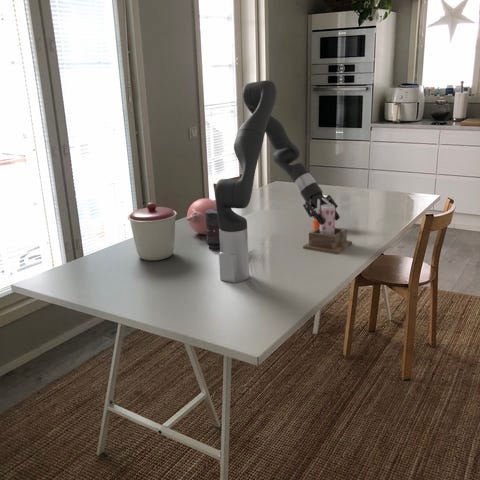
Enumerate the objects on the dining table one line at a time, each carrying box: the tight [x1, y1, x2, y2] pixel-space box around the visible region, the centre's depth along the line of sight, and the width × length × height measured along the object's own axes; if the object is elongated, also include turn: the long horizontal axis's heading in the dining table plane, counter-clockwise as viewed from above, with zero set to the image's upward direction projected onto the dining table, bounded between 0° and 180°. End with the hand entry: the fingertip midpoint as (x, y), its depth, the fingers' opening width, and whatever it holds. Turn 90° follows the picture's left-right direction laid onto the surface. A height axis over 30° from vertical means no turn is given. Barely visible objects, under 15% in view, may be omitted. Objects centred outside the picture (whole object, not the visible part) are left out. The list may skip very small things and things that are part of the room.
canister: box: [127, 201, 178, 261], centre depth 195 cm, size 18×18×21 cm
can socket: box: [302, 227, 353, 255], centre depth 201 cm, size 14×14×6 cm
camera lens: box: [205, 209, 220, 252], centre depth 203 cm, size 8×8×15 cm
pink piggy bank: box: [186, 198, 217, 236], centre depth 220 cm, size 15×20×15 cm
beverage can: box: [320, 204, 336, 236], centre depth 199 cm, size 6×6×15 cm
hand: (330, 221), depth 198 cm, fingers open, 8 cm apart
